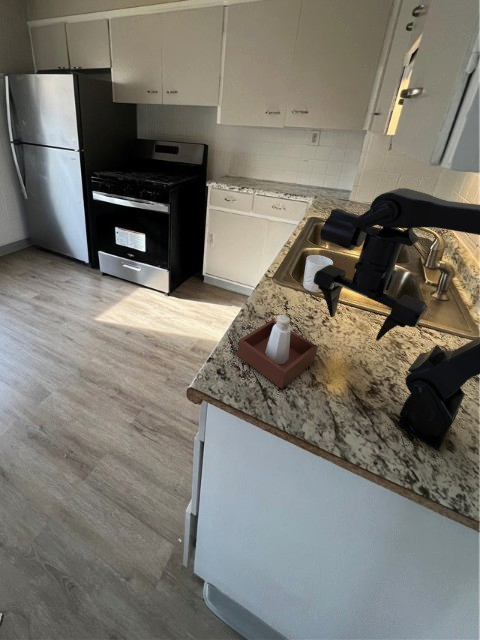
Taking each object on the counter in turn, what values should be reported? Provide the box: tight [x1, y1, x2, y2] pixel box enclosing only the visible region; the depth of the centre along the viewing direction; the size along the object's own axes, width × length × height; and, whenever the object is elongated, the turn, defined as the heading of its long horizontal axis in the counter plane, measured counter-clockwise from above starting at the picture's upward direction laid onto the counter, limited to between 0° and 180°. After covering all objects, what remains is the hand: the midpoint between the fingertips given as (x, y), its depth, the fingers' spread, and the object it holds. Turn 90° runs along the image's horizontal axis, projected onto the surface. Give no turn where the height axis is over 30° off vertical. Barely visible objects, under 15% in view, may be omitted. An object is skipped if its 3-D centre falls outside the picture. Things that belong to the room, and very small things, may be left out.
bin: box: [236, 319, 319, 390], centre depth 72 cm, size 13×13×5 cm
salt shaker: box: [265, 314, 291, 365], centre depth 70 cm, size 5×5×11 cm
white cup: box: [302, 254, 334, 293], centre depth 101 cm, size 8×8×10 cm
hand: (353, 327), depth 63 cm, fingers open, 9 cm apart
